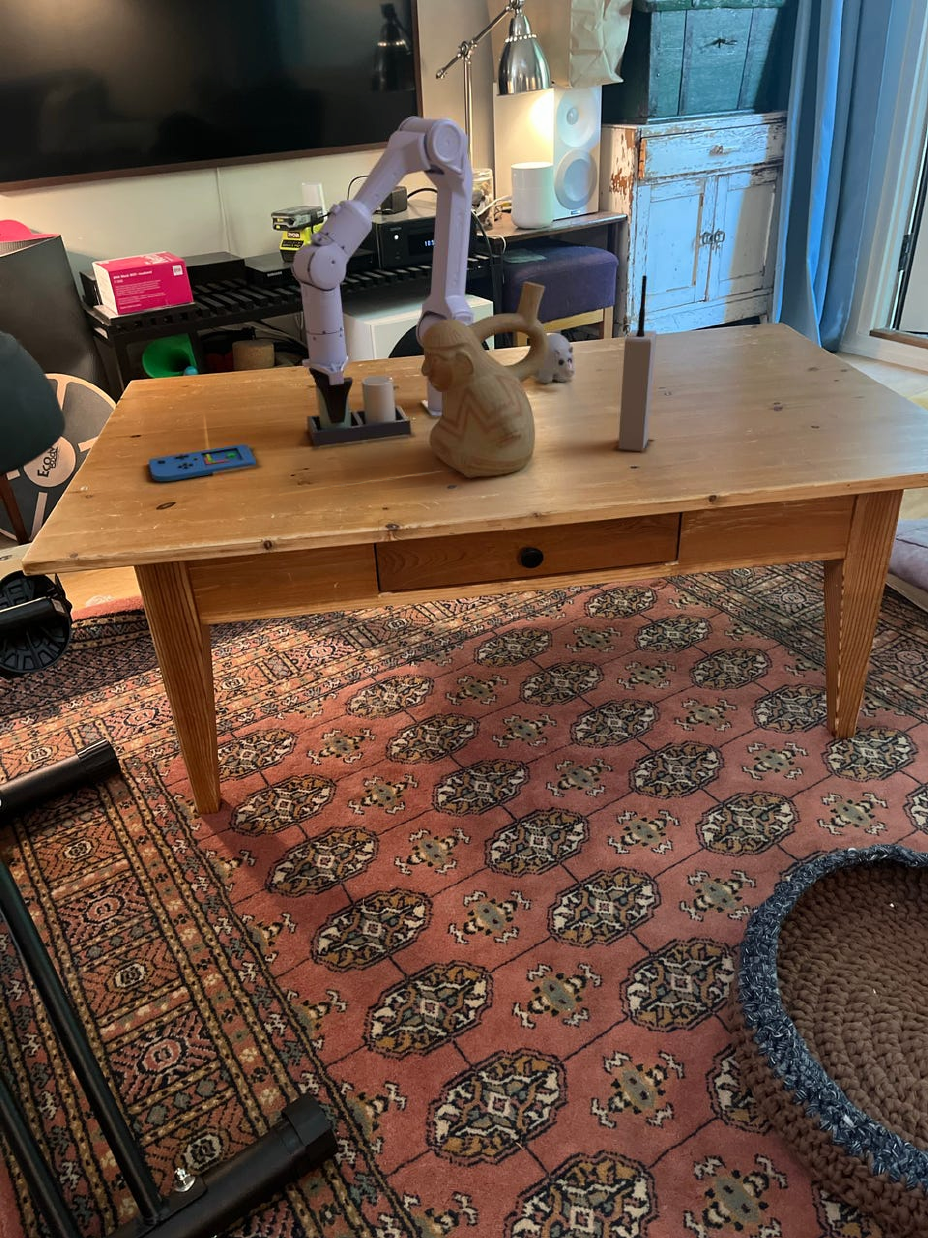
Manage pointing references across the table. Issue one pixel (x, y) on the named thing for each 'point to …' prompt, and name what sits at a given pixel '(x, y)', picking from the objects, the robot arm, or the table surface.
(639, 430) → the vintage mobile phone
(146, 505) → the table surface
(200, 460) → the handheld gaming device
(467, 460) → the ceramic vessel
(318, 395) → the green cup
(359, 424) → the cup holder
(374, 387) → the cream cup
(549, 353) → the chubby cartoon animal
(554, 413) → the table surface
